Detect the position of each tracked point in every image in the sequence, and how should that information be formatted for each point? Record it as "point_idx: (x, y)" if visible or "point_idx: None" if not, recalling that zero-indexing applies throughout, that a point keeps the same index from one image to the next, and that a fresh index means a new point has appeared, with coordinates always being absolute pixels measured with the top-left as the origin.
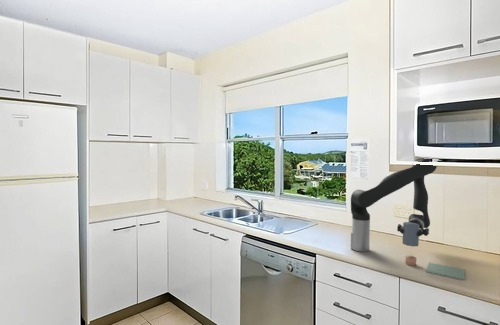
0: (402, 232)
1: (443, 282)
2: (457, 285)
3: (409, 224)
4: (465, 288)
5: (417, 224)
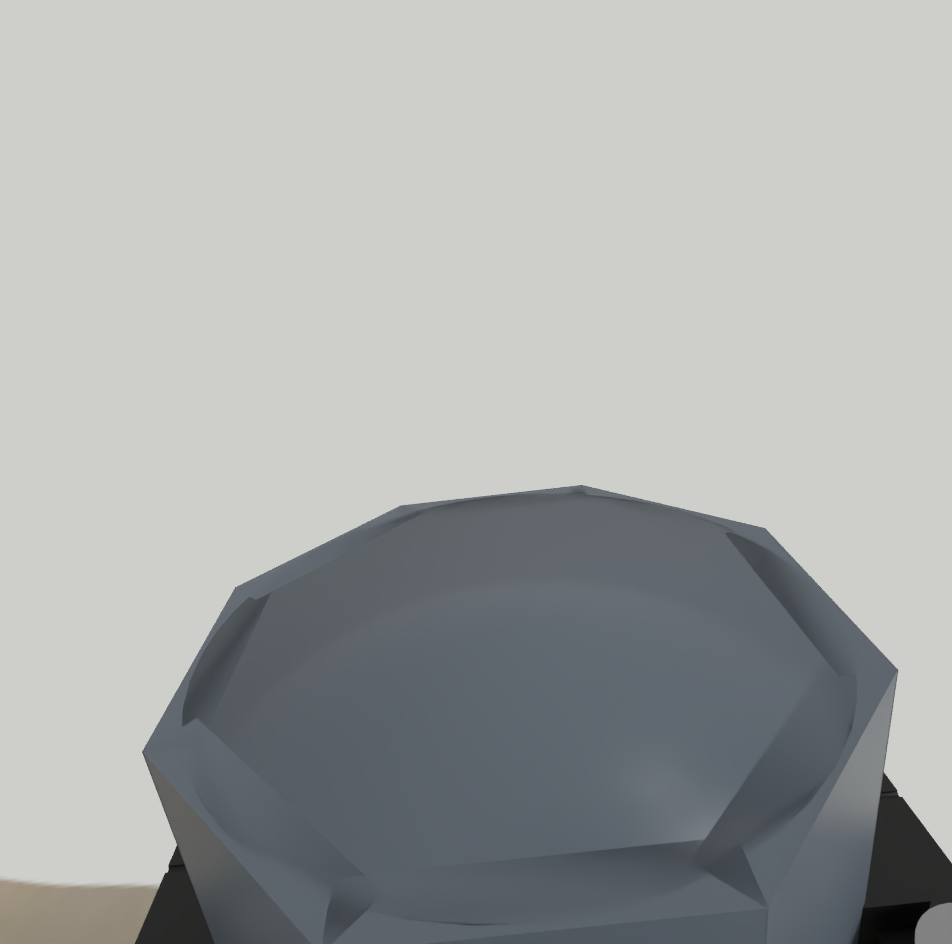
0: None
1: None
2: (49, 908)
3: (526, 518)
4: (4, 883)
5: (253, 662)
